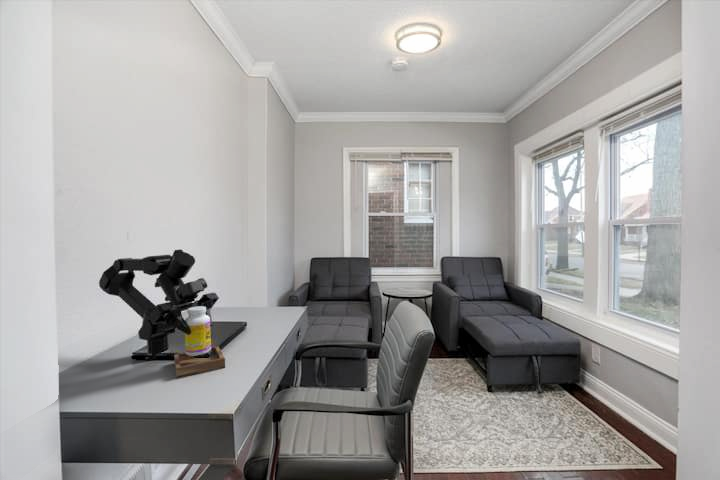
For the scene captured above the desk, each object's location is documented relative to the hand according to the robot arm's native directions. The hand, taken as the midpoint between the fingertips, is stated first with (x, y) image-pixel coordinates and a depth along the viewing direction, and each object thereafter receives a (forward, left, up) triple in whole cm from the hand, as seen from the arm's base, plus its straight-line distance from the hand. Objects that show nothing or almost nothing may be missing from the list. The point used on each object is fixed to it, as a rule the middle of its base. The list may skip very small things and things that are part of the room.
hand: (200, 330), depth 93 cm
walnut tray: (-1, -1, -10) cm, 11 cm away
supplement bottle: (-1, -1, -7) cm, 7 cm away
